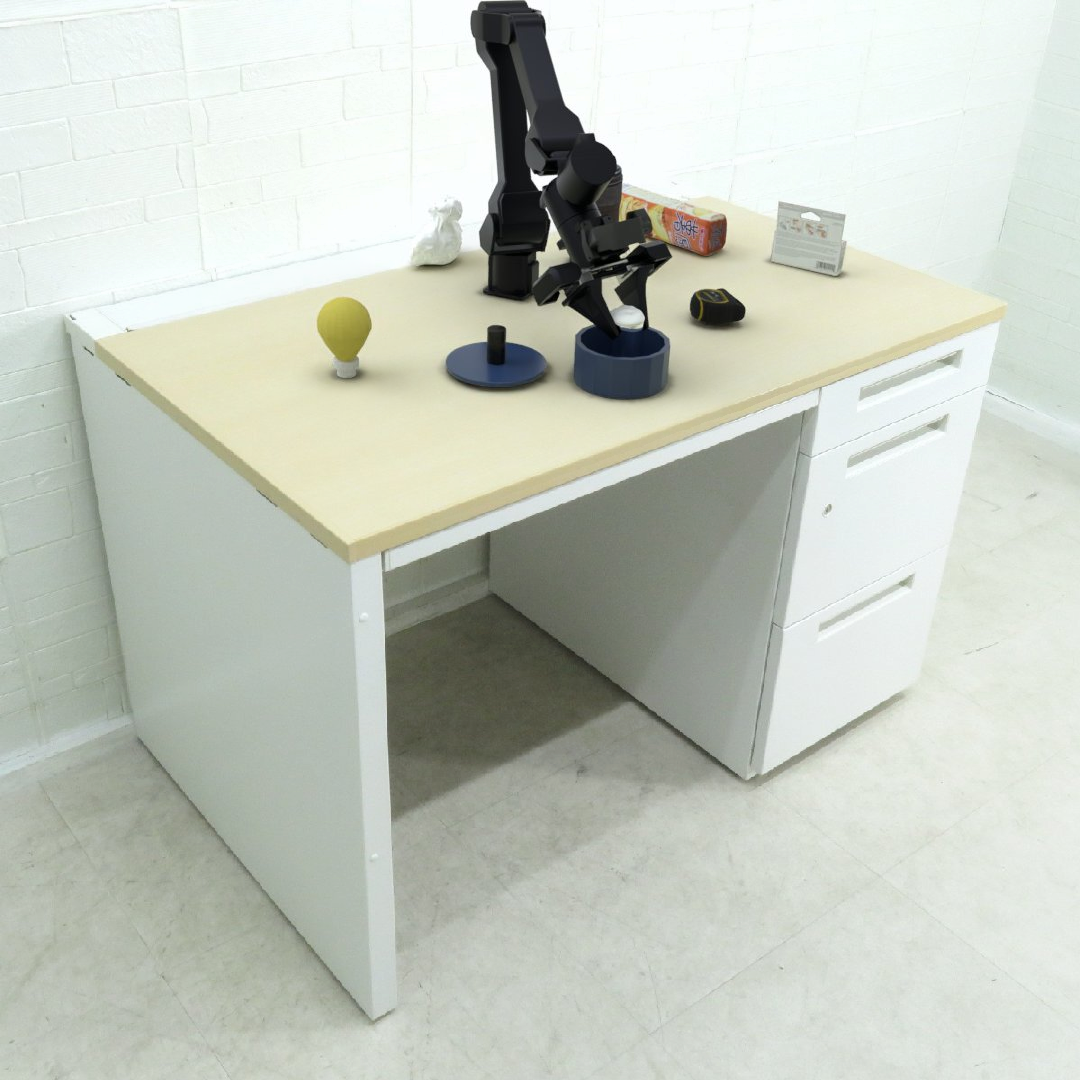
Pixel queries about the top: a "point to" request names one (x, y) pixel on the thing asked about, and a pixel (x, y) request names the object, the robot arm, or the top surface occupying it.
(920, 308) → the top surface
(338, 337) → the light bulb
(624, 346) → the milkshake
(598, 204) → the camera lens
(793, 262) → the ink cartridge box
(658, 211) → the snack package
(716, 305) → the tape measure
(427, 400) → the top surface
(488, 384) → the tin lid
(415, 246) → the bust
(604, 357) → the tin
